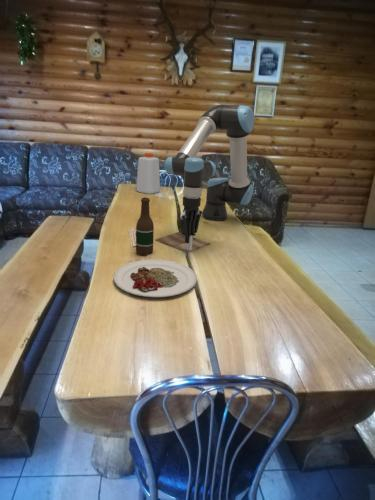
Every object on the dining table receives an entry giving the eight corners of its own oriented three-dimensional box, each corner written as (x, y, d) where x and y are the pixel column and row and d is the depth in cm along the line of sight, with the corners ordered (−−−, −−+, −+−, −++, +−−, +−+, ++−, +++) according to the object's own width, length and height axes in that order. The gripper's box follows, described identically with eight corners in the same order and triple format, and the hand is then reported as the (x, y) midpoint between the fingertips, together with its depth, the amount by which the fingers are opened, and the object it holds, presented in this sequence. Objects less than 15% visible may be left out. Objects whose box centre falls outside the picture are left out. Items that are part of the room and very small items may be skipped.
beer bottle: (156, 251, 151) (158, 197, 142) (148, 257, 144) (150, 201, 135) (140, 248, 153) (140, 195, 144) (132, 254, 146) (132, 198, 137)
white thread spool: (149, 195, 249) (150, 155, 239) (133, 191, 257) (133, 152, 246) (162, 191, 261) (163, 154, 251) (146, 188, 269) (147, 151, 258)
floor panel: (178, 234, 173) (178, 232, 173) (196, 240, 166) (196, 238, 165) (155, 241, 162) (155, 239, 161) (173, 248, 155) (173, 246, 154)
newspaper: (128, 232, 174) (128, 228, 173) (142, 232, 175) (142, 228, 175) (130, 249, 153) (130, 245, 152) (146, 249, 154) (146, 245, 153)
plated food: (194, 265, 140) (194, 257, 139) (198, 302, 112) (199, 293, 111) (120, 261, 139) (120, 254, 137) (106, 299, 111) (106, 290, 110)
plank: (196, 241, 166) (196, 238, 165) (209, 245, 161) (210, 242, 160) (174, 249, 154) (174, 246, 154) (187, 253, 150) (187, 251, 149)
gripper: (195, 192, 149) (191, 243, 158) (174, 196, 140) (172, 250, 149) (208, 196, 145) (204, 248, 154) (188, 200, 136) (185, 255, 144)
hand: (188, 249), depth 151 cm, fingers closed
